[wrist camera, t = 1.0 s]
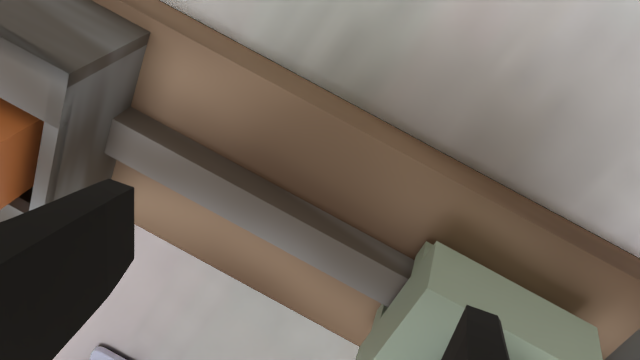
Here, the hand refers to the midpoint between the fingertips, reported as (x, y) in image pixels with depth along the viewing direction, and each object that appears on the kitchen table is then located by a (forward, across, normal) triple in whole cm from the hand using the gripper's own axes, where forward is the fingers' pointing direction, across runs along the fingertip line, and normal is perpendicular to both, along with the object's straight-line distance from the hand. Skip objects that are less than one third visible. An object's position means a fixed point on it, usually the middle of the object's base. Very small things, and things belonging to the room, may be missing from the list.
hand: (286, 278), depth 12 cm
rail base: (+10, 0, +6) cm, 12 cm away
